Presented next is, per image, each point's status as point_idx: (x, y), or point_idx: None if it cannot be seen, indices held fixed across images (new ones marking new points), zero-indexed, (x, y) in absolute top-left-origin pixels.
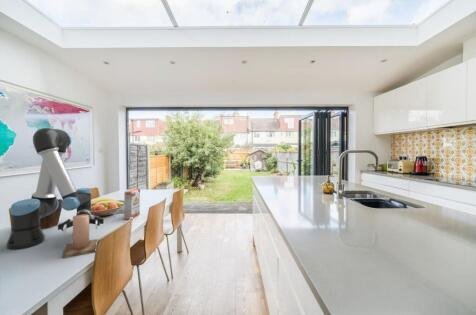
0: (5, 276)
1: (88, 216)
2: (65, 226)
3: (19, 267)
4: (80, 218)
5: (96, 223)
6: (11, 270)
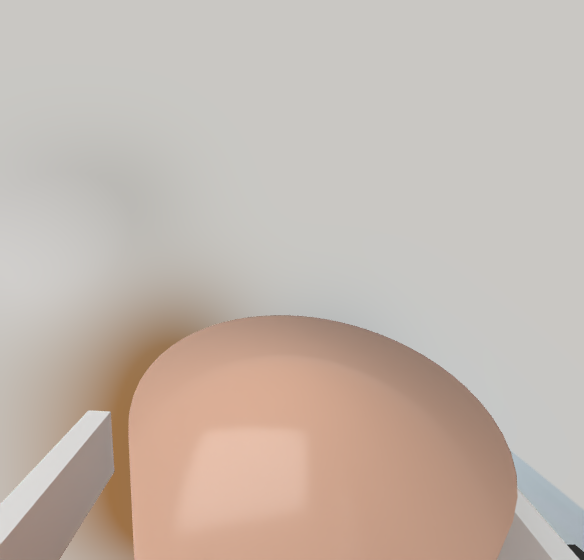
0: (525, 464)
1: (184, 343)
2: (518, 513)
3: (567, 543)
4: (303, 319)
5: (83, 429)
6: (572, 520)
